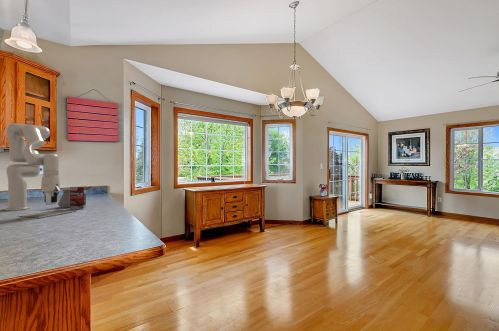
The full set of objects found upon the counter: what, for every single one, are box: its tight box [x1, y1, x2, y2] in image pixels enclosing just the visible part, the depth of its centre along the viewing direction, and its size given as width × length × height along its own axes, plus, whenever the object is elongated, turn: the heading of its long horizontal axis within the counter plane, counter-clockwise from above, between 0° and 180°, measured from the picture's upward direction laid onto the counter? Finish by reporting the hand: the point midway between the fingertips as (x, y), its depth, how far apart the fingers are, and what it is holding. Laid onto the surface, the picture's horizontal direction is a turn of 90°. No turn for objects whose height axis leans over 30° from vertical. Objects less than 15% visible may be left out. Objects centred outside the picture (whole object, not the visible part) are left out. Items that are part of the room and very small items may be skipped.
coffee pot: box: [57, 186, 93, 209], centre depth 184 cm, size 21×12×15 cm, turn 123°
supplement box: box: [69, 186, 87, 211], centre depth 174 cm, size 9×5×16 cm, turn 105°
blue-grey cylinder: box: [45, 192, 57, 206], centre depth 154 cm, size 5×5×8 cm
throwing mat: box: [17, 209, 77, 219], centre depth 155 cm, size 18×22×1 cm
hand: (50, 202), depth 154 cm, fingers closed on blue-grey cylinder, 4 cm apart
